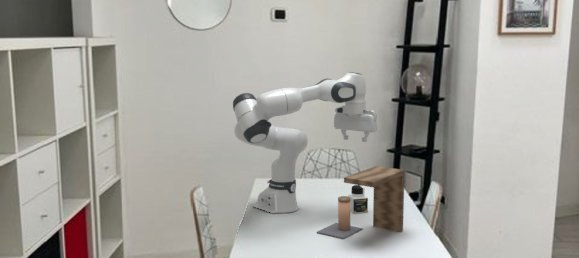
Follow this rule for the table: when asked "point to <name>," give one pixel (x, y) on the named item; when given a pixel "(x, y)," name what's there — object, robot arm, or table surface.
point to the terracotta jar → (344, 213)
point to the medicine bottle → (358, 200)
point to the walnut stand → (384, 195)
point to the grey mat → (338, 231)
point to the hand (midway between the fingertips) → (355, 140)
